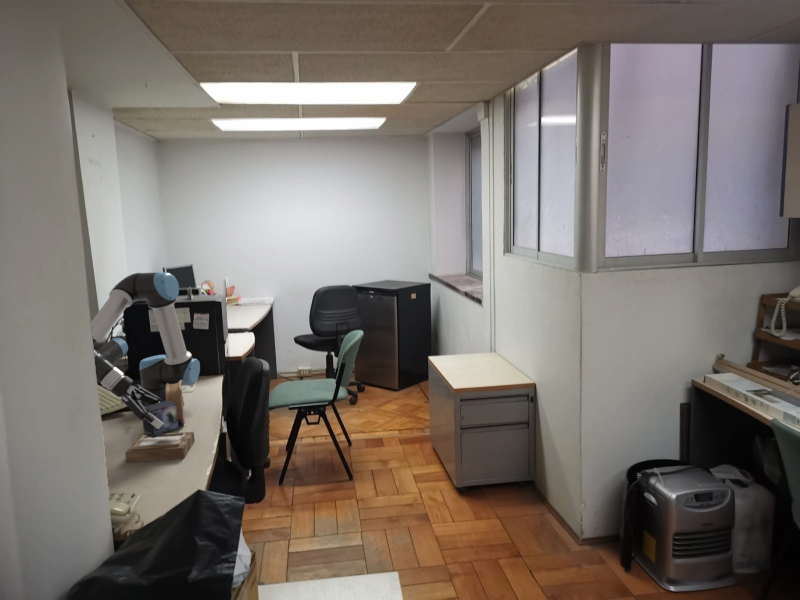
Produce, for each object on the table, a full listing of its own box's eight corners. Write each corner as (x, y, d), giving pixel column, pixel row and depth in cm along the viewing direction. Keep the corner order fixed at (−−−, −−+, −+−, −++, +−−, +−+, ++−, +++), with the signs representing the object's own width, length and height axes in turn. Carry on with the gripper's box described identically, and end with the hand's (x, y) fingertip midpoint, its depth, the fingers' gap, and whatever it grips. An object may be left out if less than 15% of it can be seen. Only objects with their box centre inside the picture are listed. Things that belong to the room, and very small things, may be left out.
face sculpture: (186, 428, 246) (182, 389, 244) (168, 431, 244) (164, 391, 242) (185, 413, 265) (182, 377, 262) (168, 416, 263) (165, 379, 260)
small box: (153, 438, 215) (150, 410, 214) (143, 435, 219) (140, 407, 218) (179, 429, 224) (176, 402, 222) (169, 426, 228) (166, 399, 226)
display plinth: (141, 445, 230) (139, 433, 229) (194, 441, 232) (193, 429, 231) (126, 462, 214) (124, 450, 213) (184, 458, 216) (182, 445, 215)
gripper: (122, 381, 229) (168, 417, 233) (98, 400, 206) (149, 440, 209) (135, 366, 229) (181, 403, 233) (112, 384, 206) (163, 424, 209)
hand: (165, 420), depth 221 cm, fingers closed on small box, 11 cm apart
